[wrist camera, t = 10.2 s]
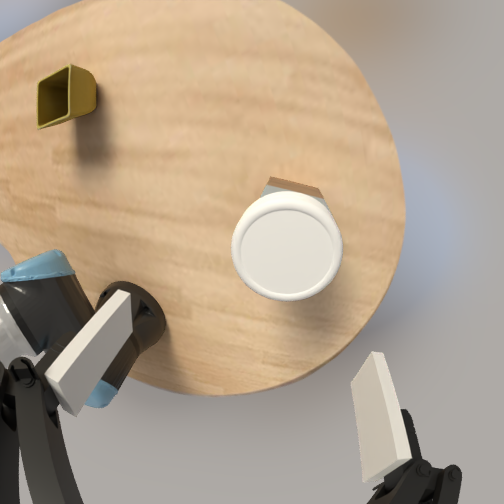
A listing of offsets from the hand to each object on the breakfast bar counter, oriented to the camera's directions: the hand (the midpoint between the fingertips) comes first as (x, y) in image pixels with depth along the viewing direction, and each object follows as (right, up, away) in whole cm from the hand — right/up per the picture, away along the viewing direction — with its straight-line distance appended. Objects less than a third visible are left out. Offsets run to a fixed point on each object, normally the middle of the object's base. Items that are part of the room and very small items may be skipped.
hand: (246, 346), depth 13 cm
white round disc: (+4, +6, +13) cm, 15 cm away
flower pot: (-29, +32, +22) cm, 48 cm away
